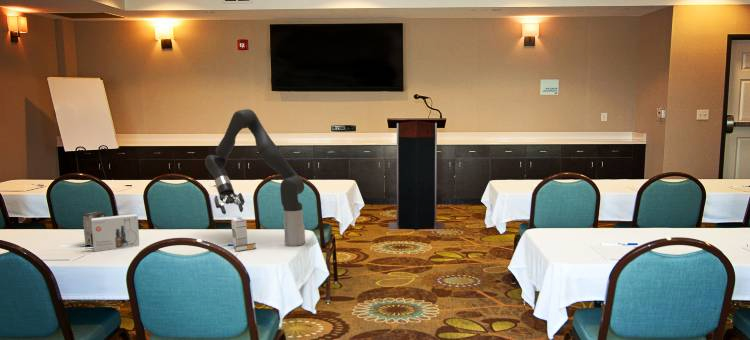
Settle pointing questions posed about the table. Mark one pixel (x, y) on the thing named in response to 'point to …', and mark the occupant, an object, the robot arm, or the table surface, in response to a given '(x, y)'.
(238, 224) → the syrup box
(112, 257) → the table surface
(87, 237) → the coffee box
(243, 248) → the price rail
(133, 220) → the skincare box
